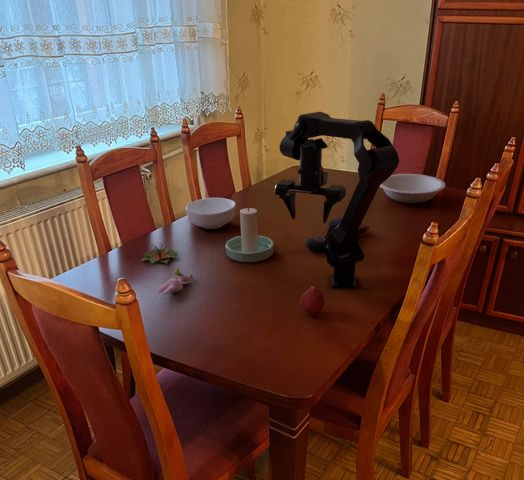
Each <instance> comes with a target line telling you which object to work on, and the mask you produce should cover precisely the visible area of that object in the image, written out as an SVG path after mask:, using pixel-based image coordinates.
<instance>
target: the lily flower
mask: <svg viewBox="0 0 524 480" xmlns="http://www.w3.org/2000/svg"><path fill="white" fill-rule="evenodd" d="M159 245H160V247H158V246H157V245H154V244H153V245H151V247H153V249H152V250H150V251H147V252H145V253H143V255H146V256H144V257H142V258H141V261H150V264H151V265H152V264H154V263H155V262H161V263H164V264H168V262H169V261H170V258H172V259H178V257H177V256H176V254H178V253H179V251H176V250H170V249H169V248H167V246H164V243H162V242H159ZM163 246H164V247H163Z"/></svg>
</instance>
